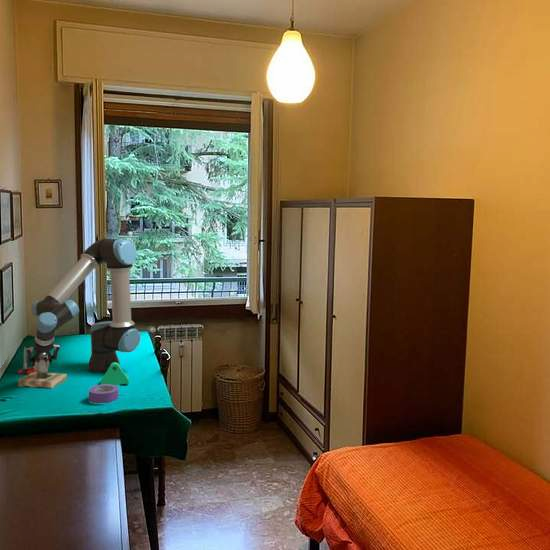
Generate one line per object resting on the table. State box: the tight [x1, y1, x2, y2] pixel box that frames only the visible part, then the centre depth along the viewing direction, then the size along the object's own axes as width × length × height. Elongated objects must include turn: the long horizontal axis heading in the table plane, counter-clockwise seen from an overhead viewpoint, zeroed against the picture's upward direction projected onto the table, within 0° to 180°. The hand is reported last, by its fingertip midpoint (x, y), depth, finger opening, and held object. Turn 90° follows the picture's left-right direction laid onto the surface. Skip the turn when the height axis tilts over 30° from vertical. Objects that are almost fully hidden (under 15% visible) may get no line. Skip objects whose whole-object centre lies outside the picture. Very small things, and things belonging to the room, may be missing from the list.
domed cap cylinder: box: [37, 353, 49, 378], centre depth 244 cm, size 5×5×11 cm
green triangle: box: [100, 362, 130, 386], centre depth 245 cm, size 12×8×10 cm, turn 103°
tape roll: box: [88, 384, 120, 404], centre depth 224 cm, size 12×12×5 cm
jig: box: [18, 372, 68, 389], centre depth 245 cm, size 16×12×3 cm
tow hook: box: [17, 346, 37, 375], centre depth 262 cm, size 8×13×9 cm
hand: (41, 367), depth 247 cm, fingers closed on domed cap cylinder, 4 cm apart
